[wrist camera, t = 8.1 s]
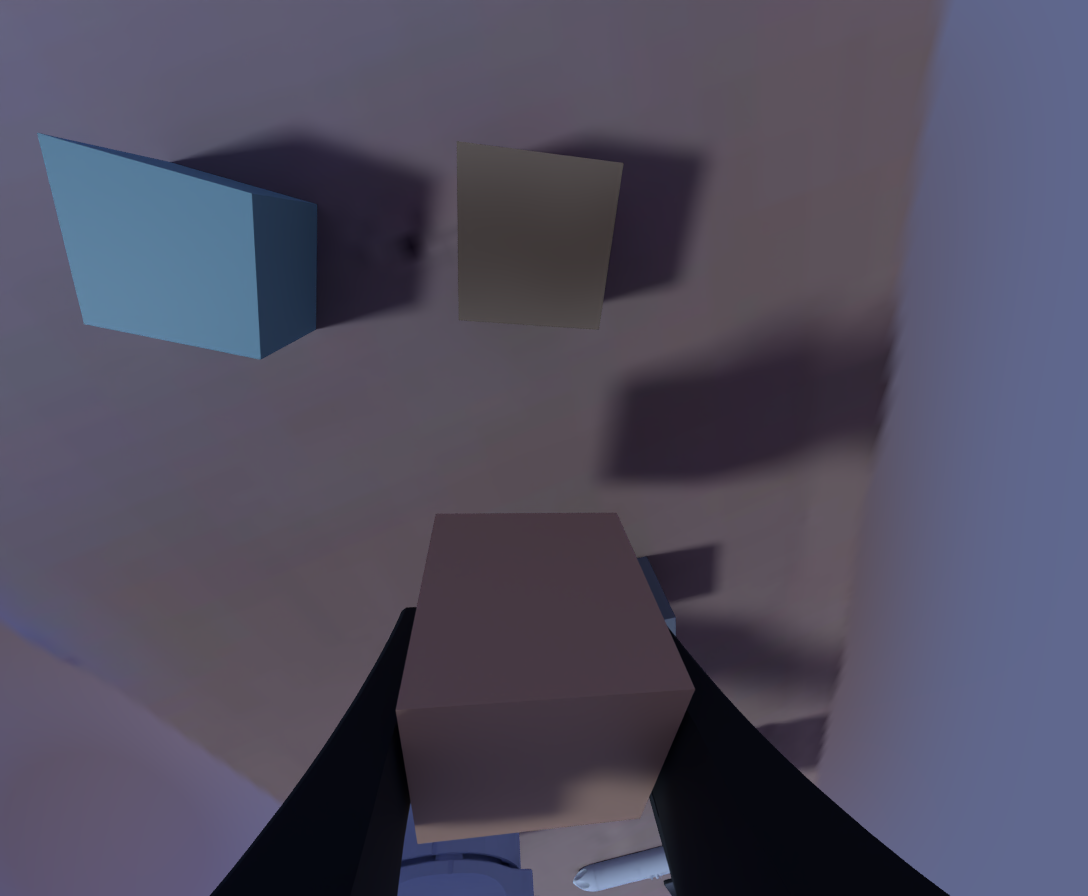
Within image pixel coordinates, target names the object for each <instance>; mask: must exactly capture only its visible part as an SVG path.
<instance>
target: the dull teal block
mask: <svg viewBox="0 0 1088 896" xmlns="http://www.w3.org/2000/svg"><path fill="white" fill-rule="evenodd" d="M37 134H38V138H39V142H40V146H41V150H42V154H43V158H44V162H45V166H46V170H47V175H48V179H49V183H50V187H51V191H52V195H53V199H54V203H55V207H56V211H57V215H58V219H59V223H60V227H61V232H62V236H63V240H64V244H65V248H66V252H67V256H68V260H69V264H70V268H71V272H72V276H73V280H74V285H75V289H76V293H77V297H78V301H79V305H80V309H81V313H82V317H83V321H84V324H87V325H92V326H97V327H102V328H107V329H112V330H117V331H122V332H127V333H132V334H137V335H142V336H147V337H152V338H157V339H161V340H166V341H171V342H176V343H181V344H186V345H191V346H196V347H201V348H206V349H211V350H216V351H221V352H226V353H231V354H236V355H241V356H246V357H251V358H256V359H263V358H264V357H266V356H268V355H270V354H272V353H274V352H275V351H277V350H279V349H281V348H283V347H285V346H286V345H288V344H290V343H292V342H294V341H296V340H298V339H299V338H301V337H303V336H305V335H307V334H309V333H310V332H312V331H314V330H316V282H317V204H314V203H311V202H307V201H304V200H301V199H297V198H294V197H290V196H287V195H283V194H280V193H276V192H273V191H269V190H266V189H262V188H259V187H255V186H252V185H248V184H245V183H241V182H238V181H234V180H231V179H227V178H224V177H220V176H217V175H213V174H210V173H206V172H203V171H199V170H196V169H192V168H189V167H185V166H182V165H178V164H175V163H171V162H167V161H163V160H158V159H154V158H149V157H145V156H140V155H135V154H131V153H126V152H122V151H117V150H113V149H108V148H104V147H99V146H95V145H90V144H86V143H81V142H77V141H72V140H68V139H63V138H58V137H54V136H49V135H45V134H40V133H37Z"/></svg>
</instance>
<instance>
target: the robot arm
mask: <svg viewBox="0 0 1088 896" xmlns="http://www.w3.org/2000/svg"><path fill="white" fill-rule="evenodd" d="M416 608H417V607H410V608H405V609H404V610H402V612H401V614H400V616H399V619H398V621H397V623H396V625H395V627H394V629H393V631H392V633H391V635H390V637H389V639H388V641H387V643H386V645H385V647H384V649H383V651H382V652H381V654H380V656H379V658H378V660H377V662H376V663H375V665H374V667H373V669H372V670H371V672H370V674H369V675H368V677H367V679H366V681H365V682H364V684H363V686H362V687H361V689H360V691H359V693H358V694H357V696H356V698H355V699H354V701H353V702H352V704H351V706H350V707H349V709H348V710H347V712H346V713H345V715H344V716H343V718H342V719H341V721H340V723H339V724H338V726H337V727H336V729H335V730H334V732H333V733H332V735H331V736H330V738H329V739H328V741H327V743H326V744H325V745H324V747H323V748H322V750H321V751H320V753H319V754H318V756H317V757H316V759H315V760H314V761H313V763H312V764H311V766H310V767H309V769H308V770H307V771H306V773H305V774H304V776H303V777H302V778H301V780H300V781H299V782H298V784H297V785H296V787H295V788H294V789H293V791H292V792H291V793H290V795H289V796H288V798H287V799H286V800H285V802H284V803H283V804H282V806H281V807H280V808H279V810H278V811H277V812H276V813H275V815H274V816H273V817H272V819H271V820H270V821H269V822H268V824H267V825H266V826H265V828H264V829H263V830H262V832H261V833H260V834H259V836H258V837H257V838H256V839H255V841H254V842H253V843H252V845H251V846H250V847H249V848H248V850H247V851H246V852H245V853H244V855H243V856H242V857H241V859H240V860H239V861H238V862H237V863H236V865H235V866H234V867H233V868H232V870H231V871H230V872H229V873H228V875H227V876H226V877H225V878H224V879H223V881H222V882H221V883H220V884H219V886H217V888H216V889H215V890H214V891H213V892H212V894H211V895H210V896H534V891H533V875H532V870H531V869H521V863H520V840H519V832H518V833H510V834H501V835H492V836H484V837H475V838H466V839H458V840H449V841H440V842H432V843H423V844H417V838H416V831H415V825H414V819H413V813H412V807H411V801H410V795H409V789H408V783H407V777H406V770H405V764H404V758H403V752H402V746H401V740H400V734H399V728H398V722H397V716H396V706H397V701H398V696H399V691H400V686H401V682H402V677H403V672H404V667H405V662H406V657H407V652H408V647H409V643H410V638H411V633H412V628H413V623H414V618H415V613H416ZM667 627H668V626H667ZM668 629H669V627H668ZM669 631H670V634H671V636H672V638H673V640H674V643H675V645H676V647H677V649H678V652H679V654H680V656H681V658H682V661H683V663H684V665H685V667H686V670H687V672H688V674H689V676H690V679H691V681H692V683H693V685H694V688H695V691H694V693H693V695H692V698H691V700H690V703H689V705H688V707H687V710H686V712H685V714H684V717H683V719H682V721H681V724H680V726H679V728H678V731H677V733H676V735H675V738H674V740H673V742H672V745H671V747H670V749H669V752H668V754H667V757H666V759H665V761H664V764H663V766H662V768H661V771H660V773H659V775H658V778H657V780H656V782H655V785H654V787H653V789H652V792H653V796H654V799H655V803H656V806H657V810H658V814H659V818H660V823H661V827H662V831H663V835H664V840H665V844H666V848H667V853H668V857H669V861H670V866H671V870H672V875H673V880H674V884H675V889H676V893H677V896H950V895H948V894H947V893H946V892H944V891H943V890H942V889H940V888H939V887H938V886H936V885H935V884H934V883H932V882H931V881H930V880H928V879H927V878H926V877H924V876H923V875H922V874H920V873H919V872H918V871H917V870H915V869H914V868H912V867H911V866H910V865H909V864H908V863H906V862H905V861H904V860H903V859H901V858H900V857H899V856H898V855H896V854H895V853H894V852H893V851H892V850H890V849H889V848H888V847H886V846H885V845H884V844H883V843H882V842H880V841H879V840H878V839H877V838H876V837H874V836H873V835H872V834H871V833H869V832H868V831H867V830H866V829H864V828H863V827H862V826H861V825H860V824H859V823H858V822H857V821H855V820H854V819H853V818H852V817H851V816H850V815H849V814H847V813H846V812H845V811H844V810H843V809H842V808H840V807H839V806H838V805H837V804H836V803H835V802H833V801H832V800H831V799H830V798H829V797H828V796H827V795H825V794H824V793H823V792H822V791H821V790H820V789H819V788H817V787H816V786H815V785H814V784H813V783H812V782H811V781H810V780H809V779H807V778H806V777H805V776H804V775H803V774H802V773H801V772H800V771H799V770H798V769H797V768H796V767H795V766H794V765H793V764H792V763H790V762H789V761H788V760H787V759H786V758H785V757H784V756H783V755H782V754H781V753H780V752H779V751H778V750H777V749H776V748H775V747H774V746H773V745H772V744H771V743H770V742H769V741H768V740H767V739H766V738H765V737H764V736H763V735H762V734H761V733H760V732H759V731H758V730H757V729H756V728H755V727H754V726H753V725H752V724H751V723H750V722H749V721H748V720H747V719H746V718H745V717H744V715H743V714H742V713H741V712H740V711H739V710H738V709H737V708H736V707H735V706H734V705H733V703H732V702H731V701H730V700H729V699H728V698H727V697H726V696H725V695H724V694H723V692H722V691H721V690H720V689H719V688H718V687H717V686H716V684H715V683H714V682H713V681H712V680H711V679H710V678H709V676H708V675H707V674H706V673H705V672H704V670H703V669H702V668H701V667H700V666H699V664H698V663H697V662H696V661H695V660H694V659H693V657H692V656H691V655H690V654H689V652H688V651H687V650H686V649H685V648H684V646H683V645H682V644H681V643H680V641H679V640H678V639H677V637H676V636H675V635H674V634H673V632H672V631H671V630H670V629H669Z"/></svg>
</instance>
